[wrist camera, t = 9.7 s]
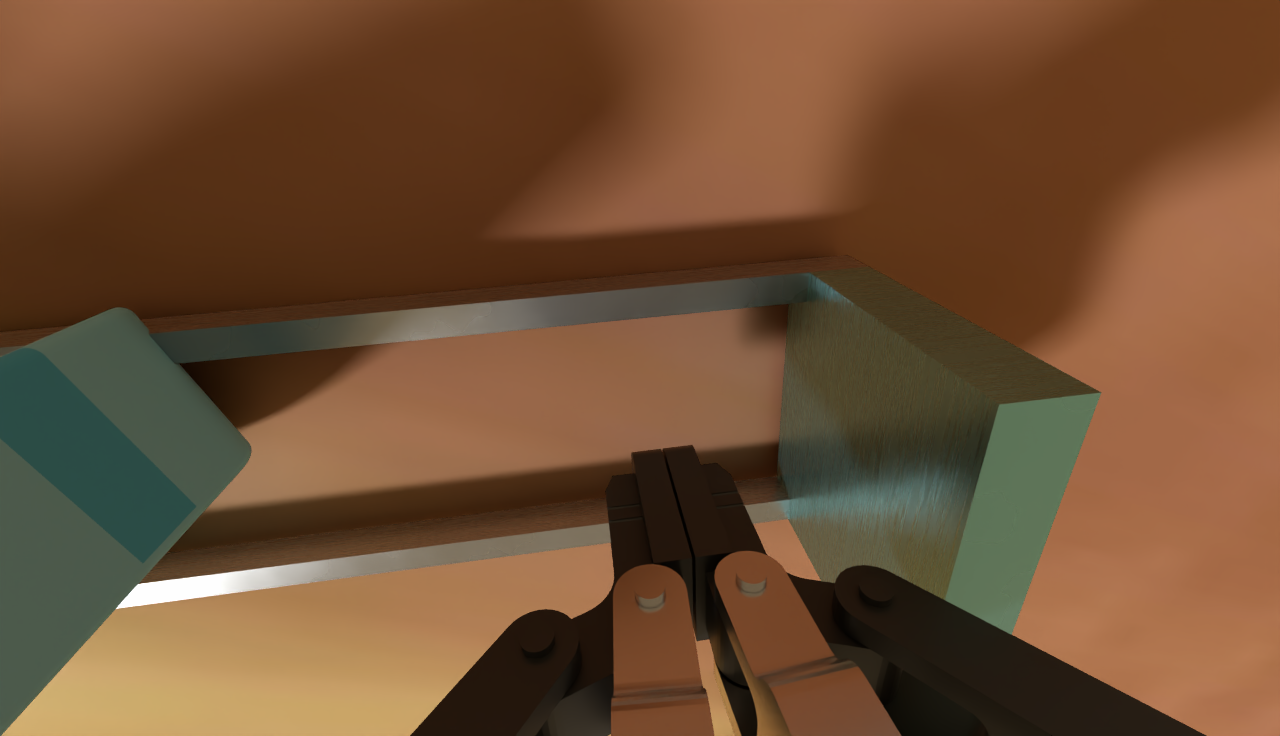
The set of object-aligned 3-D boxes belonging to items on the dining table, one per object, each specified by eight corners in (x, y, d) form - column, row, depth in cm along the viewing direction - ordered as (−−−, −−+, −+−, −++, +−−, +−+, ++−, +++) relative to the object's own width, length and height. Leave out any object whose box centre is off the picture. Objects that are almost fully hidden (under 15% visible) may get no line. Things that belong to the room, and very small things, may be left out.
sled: (-390, 368, 12) (-1655, 719, 5) (847, 255, 15) (1100, 392, 8) (-142, 613, 16) (-698, 1016, 9) (820, 489, 19) (977, 727, 12)
